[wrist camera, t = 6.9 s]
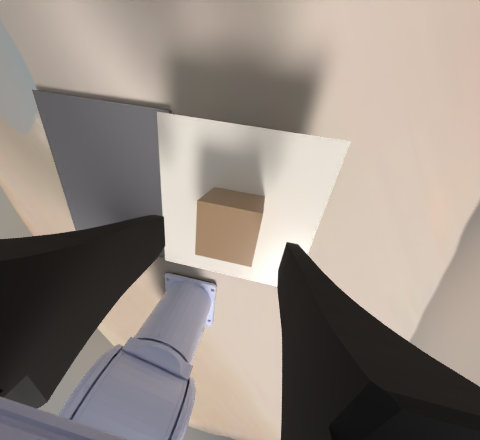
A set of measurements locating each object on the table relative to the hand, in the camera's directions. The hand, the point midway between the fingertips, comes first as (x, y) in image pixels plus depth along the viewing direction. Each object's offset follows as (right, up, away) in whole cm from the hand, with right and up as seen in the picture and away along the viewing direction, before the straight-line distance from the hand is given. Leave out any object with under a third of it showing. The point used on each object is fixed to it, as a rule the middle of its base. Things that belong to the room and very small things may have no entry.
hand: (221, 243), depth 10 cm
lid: (+1, +2, +5) cm, 5 cm away
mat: (-14, +6, +11) cm, 19 cm away
